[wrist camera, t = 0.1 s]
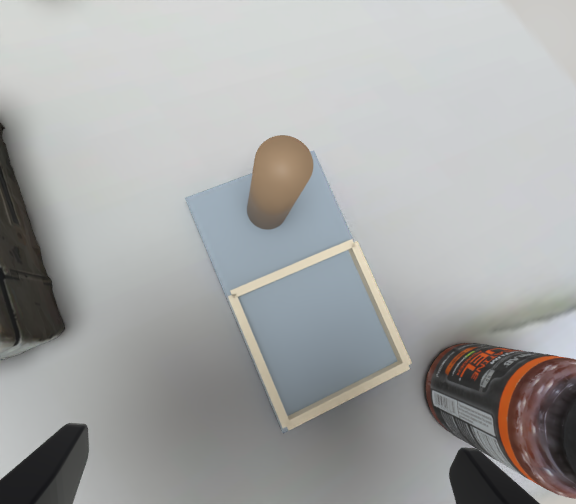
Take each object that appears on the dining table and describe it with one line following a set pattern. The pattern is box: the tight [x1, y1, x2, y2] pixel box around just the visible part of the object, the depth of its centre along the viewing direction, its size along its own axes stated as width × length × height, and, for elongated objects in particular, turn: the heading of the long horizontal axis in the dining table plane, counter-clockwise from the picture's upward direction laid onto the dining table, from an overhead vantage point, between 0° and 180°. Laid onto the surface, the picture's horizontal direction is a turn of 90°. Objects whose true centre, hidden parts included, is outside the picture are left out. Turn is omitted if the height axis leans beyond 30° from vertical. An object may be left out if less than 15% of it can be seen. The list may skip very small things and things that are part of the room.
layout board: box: [185, 135, 412, 433], centre depth 21 cm, size 15×9×9 cm, turn 23°
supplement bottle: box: [426, 343, 576, 499], centre depth 20 cm, size 6×6×11 cm
